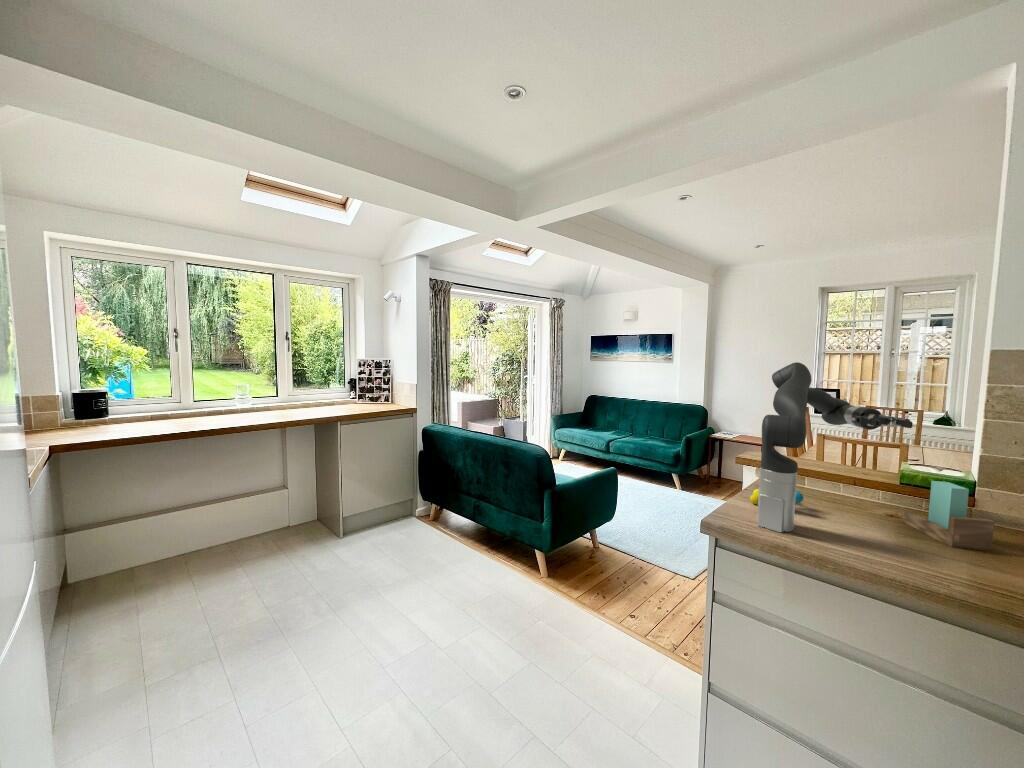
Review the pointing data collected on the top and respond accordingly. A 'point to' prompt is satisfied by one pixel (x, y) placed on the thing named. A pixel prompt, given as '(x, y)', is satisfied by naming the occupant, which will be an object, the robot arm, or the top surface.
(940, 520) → the teal rectangular block
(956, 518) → the brown wooden drawer
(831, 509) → the top surface
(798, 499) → the molecular model
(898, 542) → the top surface
